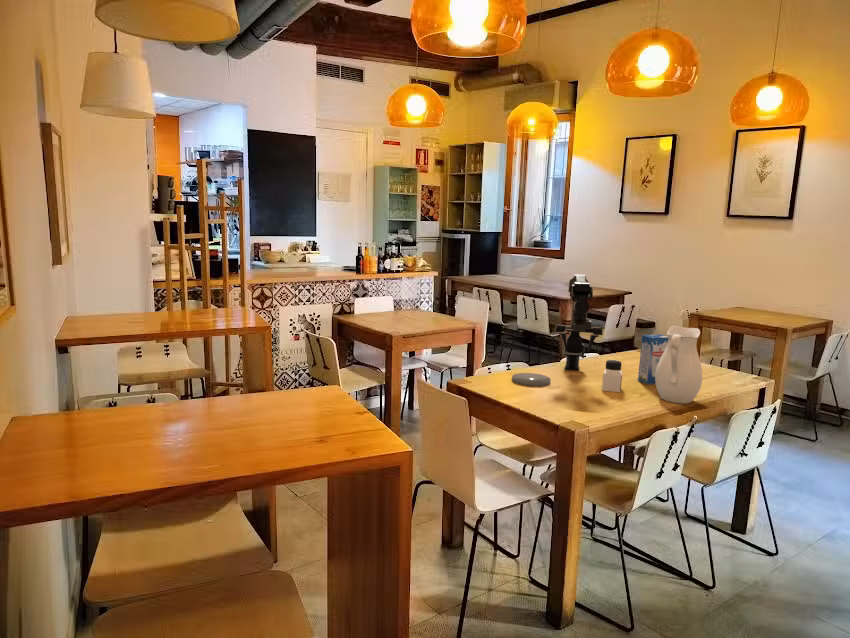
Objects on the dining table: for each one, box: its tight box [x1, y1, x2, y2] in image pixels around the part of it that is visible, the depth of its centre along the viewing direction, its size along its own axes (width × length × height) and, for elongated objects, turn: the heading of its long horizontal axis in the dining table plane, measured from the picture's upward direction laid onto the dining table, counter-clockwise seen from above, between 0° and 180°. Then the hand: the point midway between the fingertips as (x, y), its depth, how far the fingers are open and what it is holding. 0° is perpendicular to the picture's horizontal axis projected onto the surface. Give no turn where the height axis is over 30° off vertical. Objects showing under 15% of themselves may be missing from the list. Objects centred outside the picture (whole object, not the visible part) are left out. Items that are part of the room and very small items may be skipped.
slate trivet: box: [511, 372, 551, 388], centre depth 264 cm, size 16×16×2 cm
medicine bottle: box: [601, 359, 623, 393], centre depth 255 cm, size 7×7×12 cm
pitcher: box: [655, 325, 703, 405], centre depth 240 cm, size 24×17×28 cm
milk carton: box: [637, 334, 668, 385], centre depth 269 cm, size 10×6×20 cm, turn 111°
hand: (577, 350), depth 260 cm, fingers open, 9 cm apart
